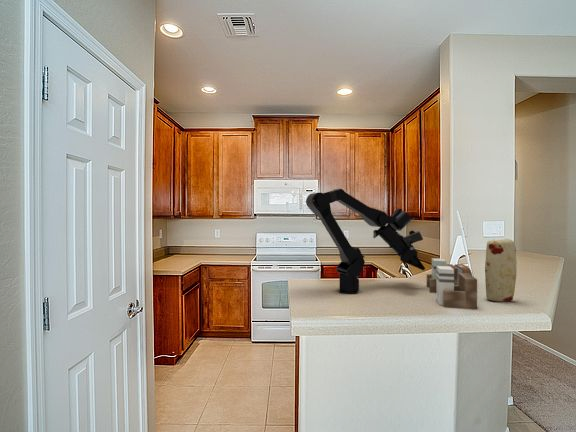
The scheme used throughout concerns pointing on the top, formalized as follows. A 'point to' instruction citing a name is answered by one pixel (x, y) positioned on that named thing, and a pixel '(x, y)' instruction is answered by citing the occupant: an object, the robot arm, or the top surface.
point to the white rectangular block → (444, 281)
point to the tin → (463, 269)
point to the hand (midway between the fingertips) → (424, 269)
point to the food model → (500, 270)
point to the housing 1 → (433, 282)
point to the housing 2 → (462, 293)
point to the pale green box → (436, 263)
